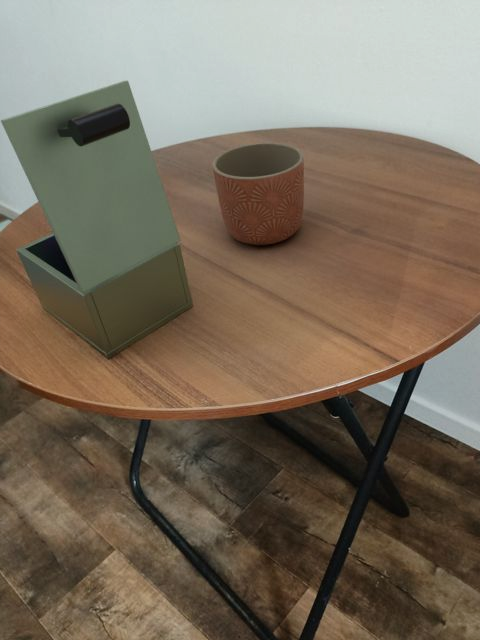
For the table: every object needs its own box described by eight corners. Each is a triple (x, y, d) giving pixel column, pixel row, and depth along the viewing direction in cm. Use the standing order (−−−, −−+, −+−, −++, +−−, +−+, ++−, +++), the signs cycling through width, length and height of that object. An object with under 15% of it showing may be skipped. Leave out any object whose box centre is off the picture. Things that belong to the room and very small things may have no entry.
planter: (293, 257, 71) (288, 180, 64) (210, 249, 75) (197, 175, 68) (315, 214, 80) (313, 143, 73) (240, 209, 83) (231, 140, 76)
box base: (43, 308, 67) (15, 249, 62) (123, 265, 74) (105, 208, 68) (108, 359, 58) (83, 295, 53) (193, 306, 65) (179, 243, 59)
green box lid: (0, 120, 44) (24, 118, 40) (124, 80, 50) (155, 75, 46) (80, 291, 53) (106, 302, 49) (177, 239, 59) (207, 246, 55)
